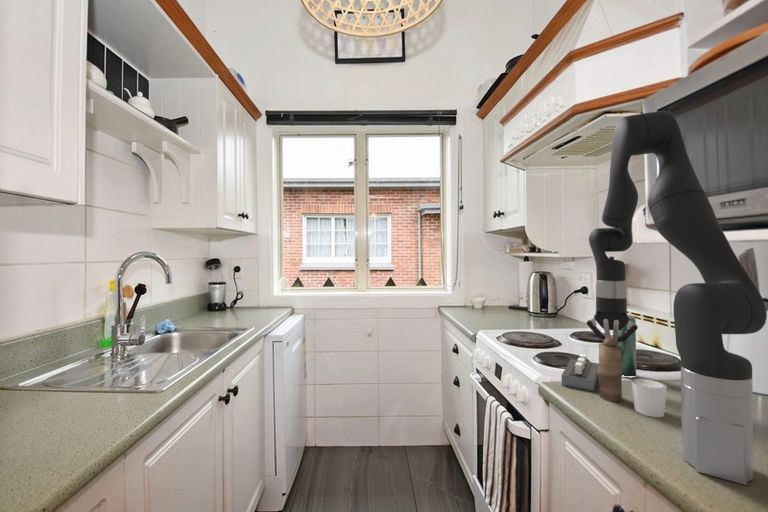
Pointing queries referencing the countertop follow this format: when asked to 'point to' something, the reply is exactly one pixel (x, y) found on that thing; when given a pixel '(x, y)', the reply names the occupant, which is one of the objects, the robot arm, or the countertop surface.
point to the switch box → (581, 376)
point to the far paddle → (584, 357)
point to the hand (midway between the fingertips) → (611, 354)
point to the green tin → (628, 351)
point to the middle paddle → (581, 361)
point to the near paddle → (578, 368)
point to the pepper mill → (610, 371)
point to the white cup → (649, 397)
